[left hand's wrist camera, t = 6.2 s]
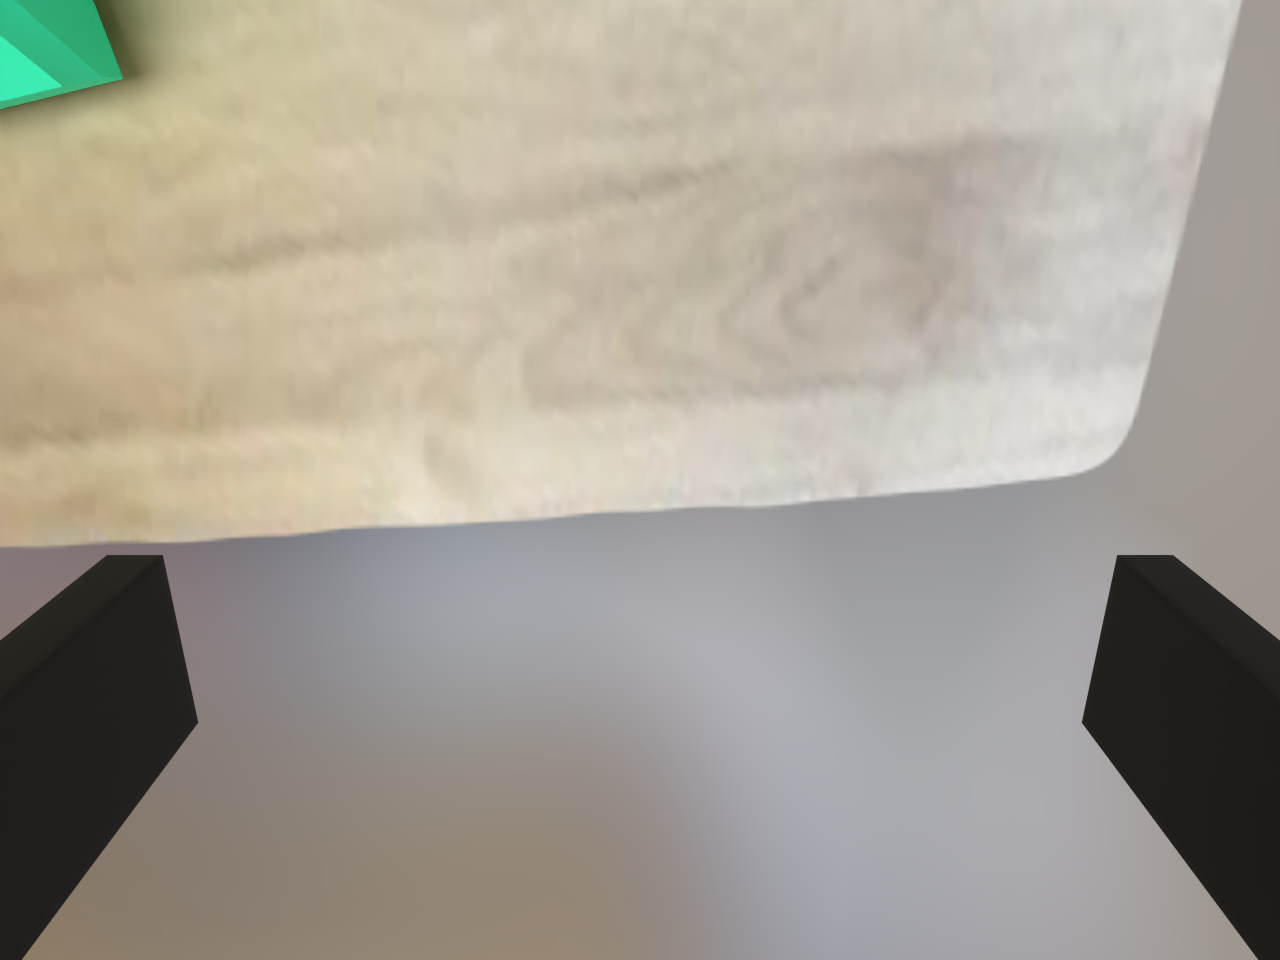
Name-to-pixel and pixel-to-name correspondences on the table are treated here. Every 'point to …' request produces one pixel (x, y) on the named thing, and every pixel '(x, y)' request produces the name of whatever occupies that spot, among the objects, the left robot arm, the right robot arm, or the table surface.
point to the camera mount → (52, 49)
